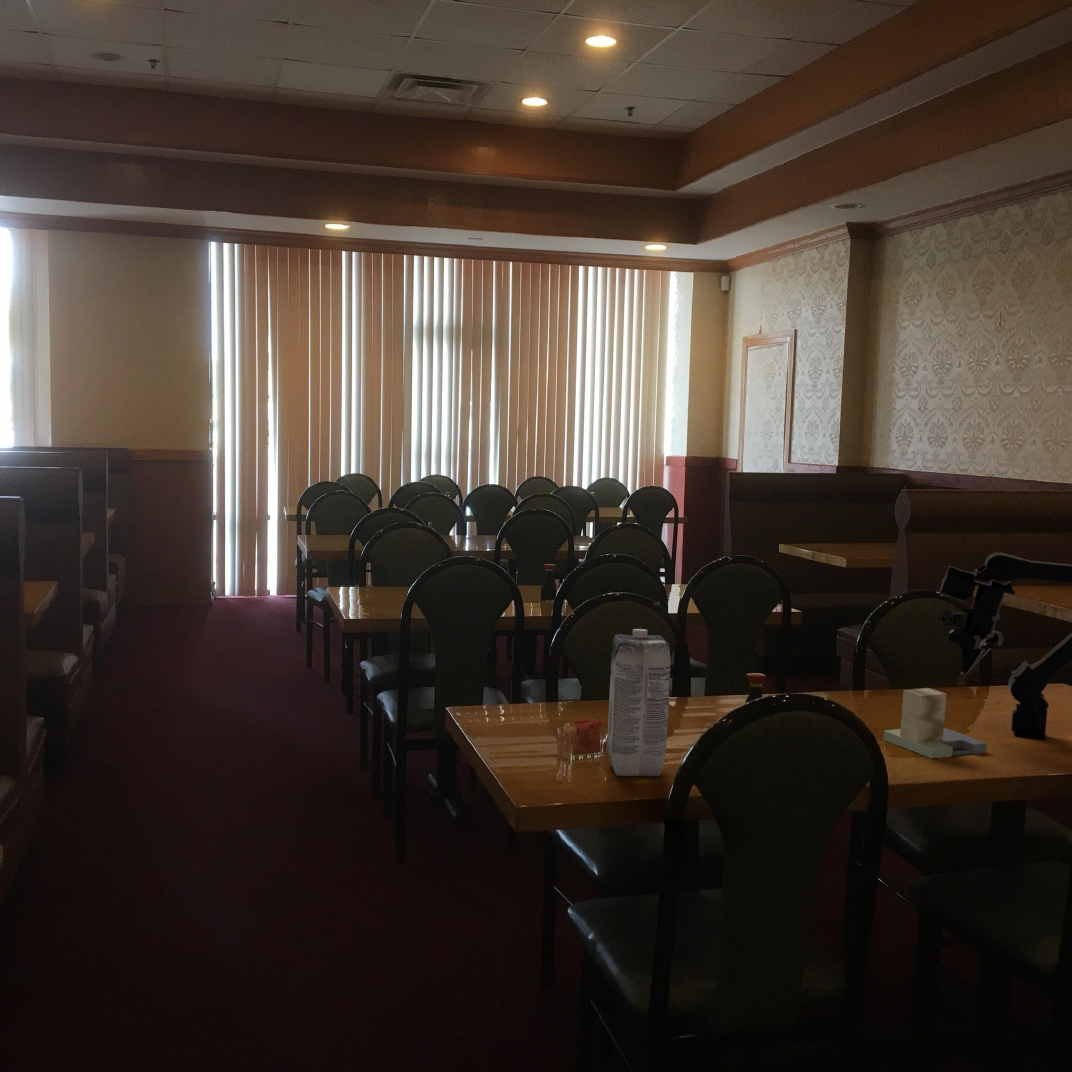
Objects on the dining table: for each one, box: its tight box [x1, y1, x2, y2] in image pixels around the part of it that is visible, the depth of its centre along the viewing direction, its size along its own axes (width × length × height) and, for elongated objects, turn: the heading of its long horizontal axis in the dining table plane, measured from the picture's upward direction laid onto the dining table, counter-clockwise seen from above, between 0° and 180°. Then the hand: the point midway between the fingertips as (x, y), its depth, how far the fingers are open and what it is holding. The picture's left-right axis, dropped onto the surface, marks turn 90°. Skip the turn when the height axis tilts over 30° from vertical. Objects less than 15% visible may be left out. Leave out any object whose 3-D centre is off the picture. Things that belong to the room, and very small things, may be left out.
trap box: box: [882, 727, 988, 759], centre depth 231 cm, size 15×14×2 cm
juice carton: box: [607, 628, 671, 777], centre depth 206 cm, size 9×10×27 cm
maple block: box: [900, 687, 947, 743], centre depth 229 cm, size 7×5×10 cm
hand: (964, 672), depth 246 cm, fingers closed
